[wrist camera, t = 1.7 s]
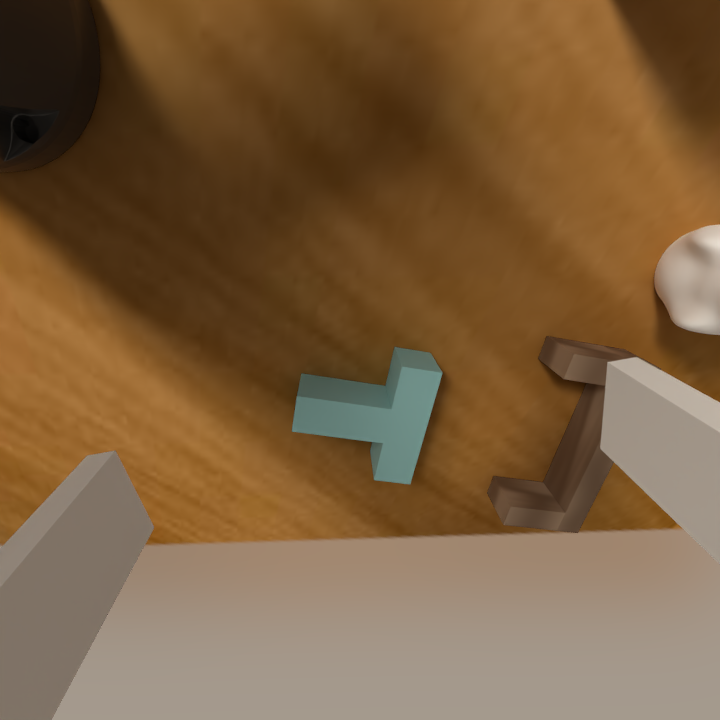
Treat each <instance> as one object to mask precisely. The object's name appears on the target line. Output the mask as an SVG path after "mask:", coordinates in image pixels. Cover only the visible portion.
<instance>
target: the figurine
mask: <svg viewBox="0 0 720 720" xmlns="http://www.w3.org/2000/svg"><path fill="white" fill-rule="evenodd" d="M654 285H655V290H656V292H657V294H658V296H659V297H660V299H661V300H662V301H663V303H664V304H665V306H666V308H667V310H668V313H669V315H670V318H671V320H672V321H673V323H674V324H675V325H677V326H679V327H681V328H683V329H686V330H689V331H693V332H698V333H703V334H712V335H720V225H711V226H706V227H702V228H700V229H697V230H695V231H692V232H690V233H687V234H685V235H683V236H682V237H680V238H679V239H677V240H676V241H675V242H673V243H672V244H671V245H670V246H669V247H668V248H667V250H666V251H665V252H664V254H663V255H662V257H661V258H660V260H659V262H658V264H657V267H656V270H655V275H654Z"/></svg>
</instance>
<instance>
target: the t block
mask: <svg viewBox="0 0 720 720" xmlns="http://www.w3.org/2000/svg"><path fill="white" fill-rule="evenodd" d="M441 377H442V371H441V369H440V368H439V366H438V364H437V363H436V361H435V359H434V358H433V356H432V354H431V353H429V352H423V351H416V350H410V349H404V348H398V347H394V351H393V356H392V360H391V364H390V368H389V373H388V377H387V381H386V386H383V385H376V384H370V383H363V382H356V381H349V380H343V379H336V378H329V377H323V376H316V375H309V374H302V373H301V378H300V383H299V388H298V393H297V399H296V406H295V413H294V419H293V426H292V432H300V433H307V434H315V435H323V436H330V437H338V438H345V439H353V440H361V441H368V442H372V445H371V449H370V453H371V461H372V468H373V476H374V480H378V481H386V482H394V483H403V484H411V480H412V477H413V473H414V470H415V466H416V463H417V459H418V456H419V453H420V449H421V446H422V442H423V439H424V435H425V432H426V428H427V425H428V422H429V418H430V415H431V411H432V408H433V404H434V401H435V397H436V394H437V390H438V387H439V384H440V380H441Z"/></svg>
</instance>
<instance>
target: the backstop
mask: <svg viewBox="0 0 720 720" xmlns="http://www.w3.org/2000/svg"><path fill="white" fill-rule="evenodd" d="M634 357H638V356H636V355H634V354H632V353H630V352H629V351H627V350H624V349H619V348H613V347H607V346H601V345H595V344H590V343H584V342H578V341H572V340H566V339H561V338H555V337H549V336H547V337H546V340H545V342H544V345H543V347H542V350H541V353H540V355H539V358H538V359H539V360H540V361H542V362H543V363H544V364H545V365H547V366H548V367H549V368H550V369H552V370H553V371H554V372H555V373H557V374H558V375H559V376H560V377H562V378H563V379H566V380H572V381H578V382H585V383H586V386H585V388H584V390H583V392H582V395H581V397H580V399H579V402H578V404H577V406H576V408H575V411H574V413H573V415H572V418H571V420H570V422H569V424H568V427H567V429H566V431H565V433H564V436H563V438H562V440H561V443H560V445H559V447H558V449H557V452H556V454H555V456H554V459H553V461H552V463H551V465H550V468H549V470H548V472H547V474H546V477H545V479H544V481H543V482H537V481H529V480H521V479H513V478H505V477H497V476H493V479H492V481H491V484H490V487H489V489H488V492H487V494H488V496H489V498H490V500H491V502H492V504H493V506H494V507H495V509H496V511H497V513H498V515H499V517H500V519H501V521H502V523H503V525H509V526H519V527H528V528H537V529H546V530H555V531H564V532H573V533H578V532H579V530H580V528H581V526H582V524H583V522H584V520H585V518H586V516H587V514H588V512H589V510H590V508H591V506H592V504H593V502H594V500H595V498H596V496H597V494H598V492H599V490H600V488H601V486H602V484H603V482H604V480H605V478H606V476H607V475H608V473H609V471H610V469H611V467H612V465H613V463H614V461H612V460H611V459H610V458H609V457H608V456H607V455H606V454H605V453H604V452H603V451H602V450H601V449H600V445H601V433H602V421H603V409H604V397H605V386H606V374H607V362H612V361H617V360H623V359H628V358H634ZM638 358H639V359H641V360H643V361H645V362H647V361H646V360H644V359H642V358H640V357H638ZM647 363H649V362H647ZM649 364H650V365H652V366H654V367H656V368H658V369H659V370H661V368H659V367H657V366H655V365H653V364H651V363H649Z"/></svg>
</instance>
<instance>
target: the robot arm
mask: <svg viewBox="0 0 720 720" xmlns="http://www.w3.org/2000/svg"><path fill="white" fill-rule="evenodd" d="M99 78H100V53H99V43H98V36H97V31H96V26H95V22H94V18H93V14H92V10H91V7H90V4H89V1H88V0H0V172H18V171H25V170H29V169H33V168H36V167H39V166H42V165H44V164H47V163H49V162H51V161H52V160H54V159H56V158H57V157H59V156H60V155H62V154H63V153H64V152H65V151H66V150H68V149H69V148H70V147H71V146H72V145H73V144H74V142H75V141H76V140H77V139H78V138H79V136H80V135H81V133H82V132H83V130H84V129H85V127H86V125H87V123H88V121H89V119H90V117H91V114H92V111H93V109H94V105H95V102H96V98H97V93H98V87H99ZM600 449H601V450H602V451H603V452H604V453H605V454H606V455H607V456H608V457H609V458H610V459H611V460H612V461H614V462H615V463H616V464H617V465H618V466H619V467H620V468H621V469H622V470H623V471H624V472H625V473H626V474H627V475H628V476H629V477H630V478H631V479H632V480H633V481H634V482H635V483H636V484H637V485H638V486H639V487H640V488H641V489H642V490H643V491H645V492H646V493H647V494H648V495H649V496H650V497H651V498H652V499H653V500H654V501H655V502H656V503H657V504H658V505H659V506H660V507H661V508H662V509H663V510H664V511H665V512H666V513H667V514H668V515H669V516H670V517H671V518H672V519H673V520H674V521H676V522H677V523H678V524H679V525H680V526H681V527H682V528H683V529H684V530H685V531H686V532H687V533H688V534H689V535H690V536H691V537H692V538H693V539H694V540H695V541H696V542H697V543H698V544H699V545H700V546H701V547H702V548H703V549H704V550H705V551H707V552H708V553H709V554H710V555H711V556H712V557H713V558H714V559H715V560H716V561H717V562H718V563H719V564H720V402H718V401H716V400H714V399H712V398H711V397H709V396H707V395H705V394H703V393H701V392H700V391H698V390H696V389H694V388H692V387H690V386H689V385H687V384H685V383H683V382H681V381H680V380H678V379H676V378H674V377H672V376H670V375H669V374H667V373H665V372H663V371H661V370H659V369H658V368H656V367H654V366H652V365H650V364H649V363H647V362H645V361H643V360H641V359H639V358H638V357H634V358H628V359H623V360H617V361H612V362H607V374H606V386H605V397H604V409H603V421H602V433H601V445H600ZM153 529H154V526H153V524H152V522H151V520H150V518H149V516H148V514H147V512H146V510H145V508H144V506H143V504H142V502H141V500H140V498H139V496H138V494H137V492H136V490H135V488H134V486H133V484H132V482H131V480H130V478H129V476H128V474H127V472H126V470H125V469H124V467H123V465H122V463H121V461H120V459H119V457H118V455H117V453H116V451H110V452H105V453H99V454H94V455H88V456H86V457H85V459H84V460H83V461H82V462H81V463H80V464H79V465H78V466H77V467H76V468H75V469H74V470H73V471H72V472H71V474H70V475H69V476H68V477H67V478H66V479H65V480H64V481H63V482H62V483H61V484H60V485H59V486H58V487H57V489H56V490H55V491H54V492H53V493H52V494H51V495H50V496H49V497H48V498H47V499H46V500H45V501H44V502H43V504H42V505H41V506H40V507H39V508H38V509H37V510H36V511H35V512H34V513H33V514H32V515H31V516H30V517H29V519H28V520H27V521H26V522H25V523H24V524H23V525H22V526H21V527H20V528H19V529H18V530H17V531H16V532H15V534H14V535H13V536H12V537H11V538H10V539H9V540H8V541H7V542H6V543H5V544H4V545H3V546H2V547H1V549H0V720H52V718H53V716H54V714H55V712H56V710H57V708H58V707H59V705H60V703H61V701H62V699H63V697H64V695H65V693H66V692H67V690H68V688H69V686H70V684H71V682H72V680H73V678H74V677H75V675H76V673H77V671H78V669H79V667H80V665H81V664H82V662H83V660H84V658H85V656H86V654H87V652H88V650H89V649H90V647H91V645H92V643H93V641H94V639H95V637H96V635H97V633H98V632H99V630H100V628H101V626H102V624H103V622H104V621H105V618H106V617H107V615H108V613H109V611H110V609H111V607H112V605H113V604H114V602H115V600H116V598H117V596H118V594H119V592H120V590H121V589H122V587H123V585H124V583H125V581H126V579H127V577H128V576H129V574H130V572H131V570H132V568H133V566H134V564H135V563H136V561H137V559H138V557H139V555H140V553H141V551H142V549H143V548H144V546H145V544H146V542H147V540H148V538H149V536H150V534H151V533H152V531H153Z"/></svg>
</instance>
